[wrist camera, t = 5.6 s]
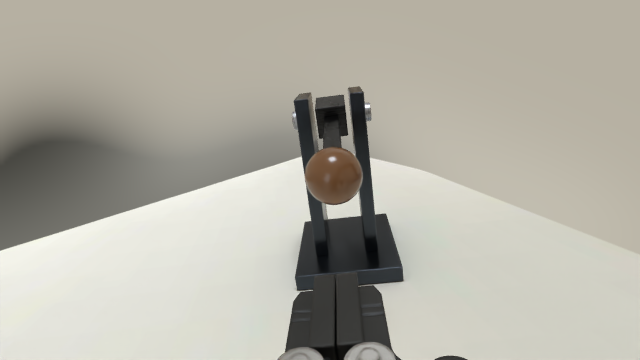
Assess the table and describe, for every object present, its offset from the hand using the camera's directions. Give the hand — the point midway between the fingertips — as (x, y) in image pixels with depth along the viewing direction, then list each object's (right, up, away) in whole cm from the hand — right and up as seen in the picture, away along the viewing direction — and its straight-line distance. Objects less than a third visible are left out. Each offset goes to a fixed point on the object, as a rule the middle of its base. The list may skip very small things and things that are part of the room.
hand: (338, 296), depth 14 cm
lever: (0, +5, +13) cm, 14 cm away
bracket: (+2, -2, +20) cm, 21 cm away
